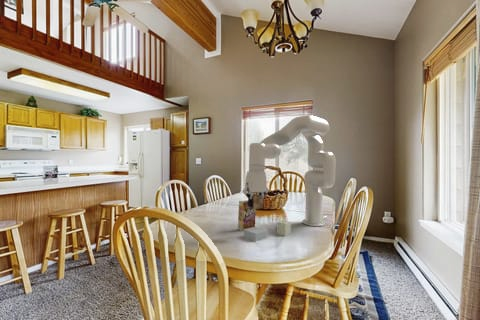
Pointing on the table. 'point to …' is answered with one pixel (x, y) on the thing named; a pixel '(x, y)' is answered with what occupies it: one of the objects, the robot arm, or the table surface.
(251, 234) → the pedestal block
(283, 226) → the sage block
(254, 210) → the candy box
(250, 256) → the table surface
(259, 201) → the walnut block
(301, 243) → the table surface
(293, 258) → the table surface
